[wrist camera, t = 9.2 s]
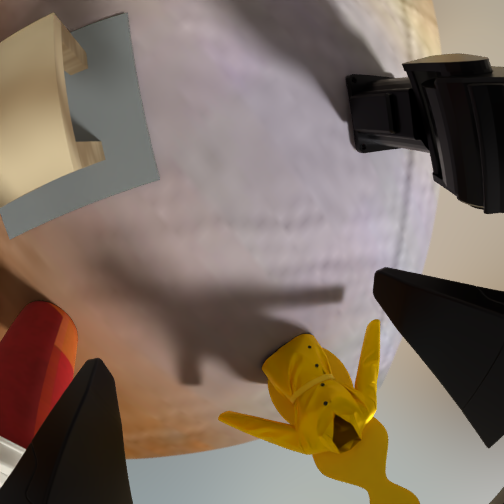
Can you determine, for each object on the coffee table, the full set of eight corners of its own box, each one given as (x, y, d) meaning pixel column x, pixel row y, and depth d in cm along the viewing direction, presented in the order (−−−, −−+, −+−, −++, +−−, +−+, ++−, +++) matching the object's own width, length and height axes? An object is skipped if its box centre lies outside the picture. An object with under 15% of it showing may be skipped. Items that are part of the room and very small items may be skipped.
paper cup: (-1, 321, 15) (-54, 452, 3) (37, 269, 15) (-45, 427, 3) (63, 375, 19) (49, 511, 7) (109, 335, 19) (105, 505, 7)
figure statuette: (356, 289, 26) (522, 440, 7) (366, 335, 30) (488, 461, 10) (199, 384, 24) (284, 596, 5) (236, 414, 28) (313, 575, 9)
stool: (105, 159, 14) (74, 171, 8) (28, 192, 13) (-26, 222, 7) (86, 52, 11) (53, 12, 5) (9, 91, 10) (-47, 78, 4)
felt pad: (127, 14, 11) (127, 12, 11) (159, 178, 16) (159, 179, 16) (-20, 87, 8) (-23, 87, 8) (12, 237, 14) (9, 239, 13)
